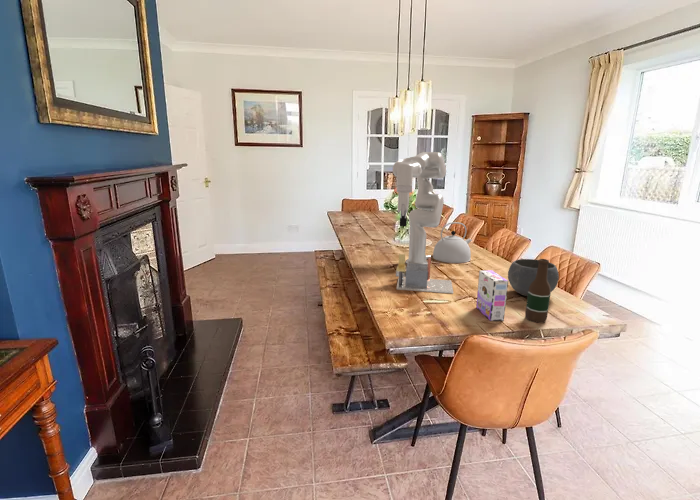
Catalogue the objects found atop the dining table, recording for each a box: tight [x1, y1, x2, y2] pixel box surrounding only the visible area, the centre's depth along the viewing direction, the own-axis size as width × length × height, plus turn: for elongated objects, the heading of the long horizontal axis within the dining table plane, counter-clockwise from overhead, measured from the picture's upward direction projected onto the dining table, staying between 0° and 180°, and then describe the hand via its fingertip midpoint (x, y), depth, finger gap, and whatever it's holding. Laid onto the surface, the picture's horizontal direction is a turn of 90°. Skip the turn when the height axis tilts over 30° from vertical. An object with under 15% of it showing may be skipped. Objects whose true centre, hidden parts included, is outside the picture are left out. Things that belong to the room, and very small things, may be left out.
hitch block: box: [396, 263, 454, 294], centre depth 182 cm, size 26×18×9 cm
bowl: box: [507, 258, 560, 297], centre depth 170 cm, size 20×20×15 cm
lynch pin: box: [395, 257, 432, 281], centre depth 181 cm, size 16×5×11 cm, turn 79°
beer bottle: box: [524, 258, 552, 324], centre depth 143 cm, size 8×8×24 cm
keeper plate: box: [396, 253, 407, 272], centre depth 181 cm, size 4×7×7 cm, turn 169°
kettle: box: [432, 221, 473, 264], centre depth 230 cm, size 25×23×23 cm
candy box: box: [476, 269, 509, 322], centre depth 149 cm, size 14×6×16 cm, turn 5°
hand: (403, 225), depth 188 cm, fingers closed
